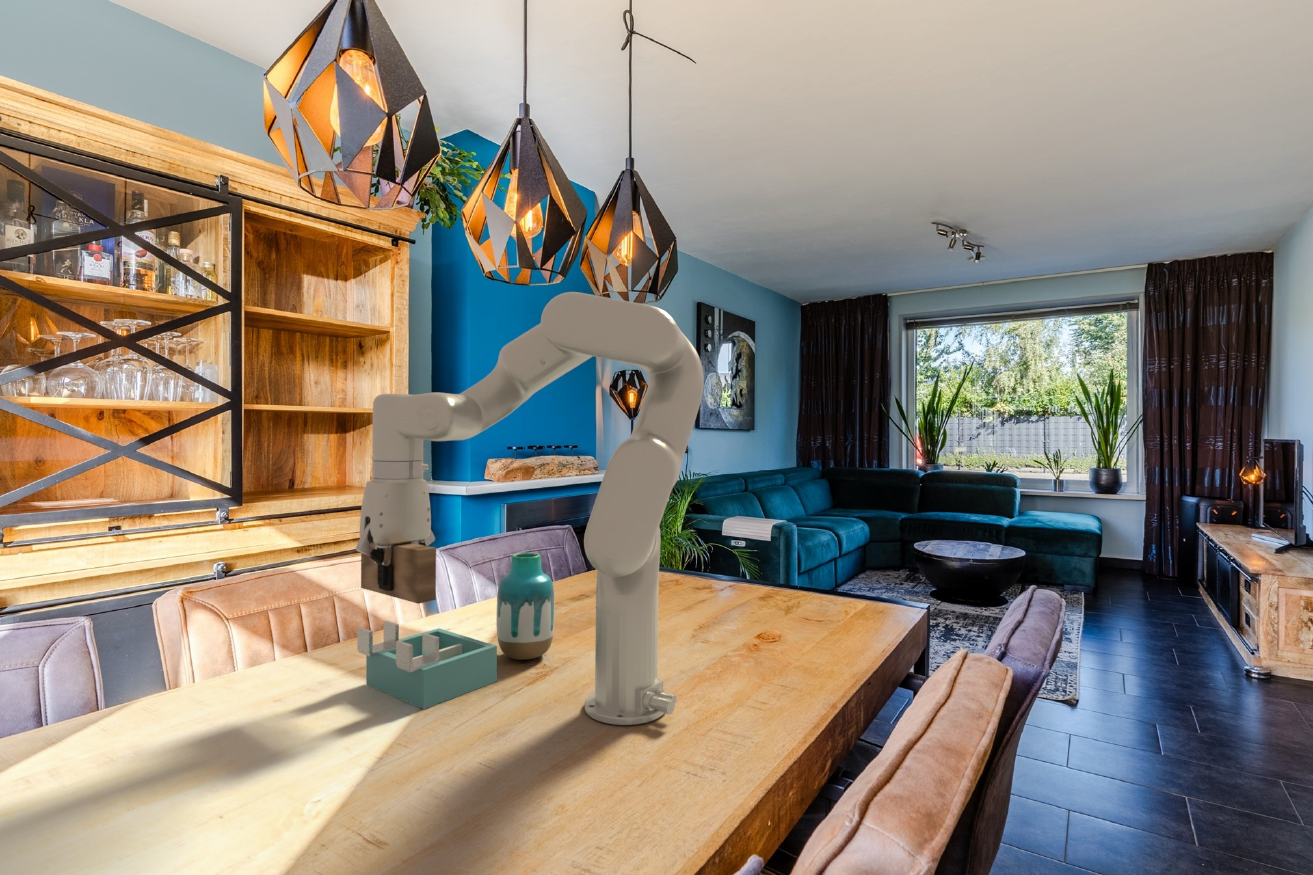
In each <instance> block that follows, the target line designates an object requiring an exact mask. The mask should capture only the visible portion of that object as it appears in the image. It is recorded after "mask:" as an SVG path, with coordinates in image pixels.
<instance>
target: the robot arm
mask: <svg viewBox="0 0 1313 875" xmlns="http://www.w3.org/2000/svg"><path fill="white" fill-rule="evenodd" d="M540 316H541V318H540V323H539V324H536V325H535V326H533V327H532V328H530V329H529V330H528V331H525V332H524V333H522V334H521V335H519V336H518V337H516V338H514V339H513V340H511V341H510V342H508V343H506V344H505V345H504V346H502V348H501V350H500V351H499V354H498V360H497V362H496V364H495V367H494V368H493V369H492V371H490V373H488V374H487V375H486V376H485V377H484V378H483V379H481V380H479V381H478V382H476V383H475V384H473V385H472V386H470V387H468V388H467V389H466V390H464V391H462V392H460V393H449V392H447V393H446V392H438V391H437V392H436V391H435V392H428V393H427V392H425V393H421V394H420V393H419V394H418V393H417V394H408V393H407V394H406V393H382V394H378V395H376V396H375V398H374V399H373V401H372V448H371V449H372V462H371V464H372V466H371V468H372V470H371V471H372V472H371V473H372V476H371V480H367V481H366V483H365V488H364V491H363V497H362V502H361V510H360V521H359V541H358V542H357V544H356V547H355V550H356V551H357V552H359V553H363V554H366V555H368V556H369V557H370V558H371V559H372V560H374V562H375V563H376V564H378V578H377V581H378V585H379V588H380V589H383V590H386V591H392V590H393V589H394V567H393V565H390V563H391V554H392V545H396V544H403V543H413V544H418V545H424V546H430V545H431V544H432V543H434V542H435V541H436V537H435V534H434V532H433V531H432V529H431V528H432V527H431V526H432V514H431V501H430V492H429V488H428V484H427V479H424V472H428V471H429V469H430V467H429V464H428V463H424V441H431V442H447V441H465V440H467V439H471V438H473V437H475V436H477V435H479V434H480V433H482V432H483V431H486V430H487V429H489V428H490V427H492V426H494V425H495V424H497V423H498V422H500V421H502V420H504V419H505V418H506V417H509V415H510V414H512V413H513V412H514V411H515V410H517V409H518V408H519V407H520V406H521V405H522V404H524V403H526V402H527V401H528V400H529V399H530V398H531V397H532V396H533V395H534V394H535V393H537V392H539V390H541V389H543V388H545V387H547V385H550V384H551V383H552V382H554V381H556V380H558V379H559V378H560V377H562V376H564V375H565V374H566V373H569V372H570V371H571V370H573V369H575V368H577V367H578V366H580V365H581V364H583V363H585V362H586V361H588V360H589V359H592V357H595V358H599V359H605V360H609V361H615V362H621V363H625V364H628V365H629V364H630V365H634V366H637V367H639V368H640V369H642V370H644V371H645V372H646V374H647V376H648V385H647V389H646V391H645V394H644V397H643V400H642V401H641V403H640V404H641V405H640V409H639V412H638V415H637V419H636V420H635V424H634V425H633V429H632V432H631V434H630V437H629V438H627V439H625V440H623V441H622V442H621V443H620V444H619V445H618V446H617V447H616V448H615V449H614V451H613V453H612V455H611V457H610V458H609V461H608V463H607V466H606V469H605V471H604V474H603V477H602V479H601V480H602V481H601V483H600V486H599V490H598V492H597V494H596V497H595V500H594V501H595V502H594V504H593V508H592V510H591V513H590V516H589V519H588V522H587V524H586V529H585V532H584V536H583V537H584V538H583V546H584V552H585V556H586V558H587V559H588V562H589V564H591V566H592V568H594V569H595V570H596V584H595V585H596V587H595V589H596V590H595V638H594V639H595V650H594V651H595V652H594V655H595V656H594V658H595V659H594V661H595V662H594V663H595V664H594V665H595V667H594V668H595V669H594V670H595V671H594V676H595V677H594V691H592V692H591V693H590V694H588V695H587V697H586V698H585V700H584V710H585V713H586V714H587V715H588V716H589V717H590V718H592V719H594V720H596V721H598V722H600V723H601V722H602V723H605V724H609V725H614V726H615V725H616V726H617V725H618V726H632V725H633V726H634V725H641V724H646V723H650V722H653V721H655V720H657V719H659V718H660V717H662V716H664V715H665V714H666V715H672V714H673V712H674V711H675V707H676V706H675V704H676V702H677V701H678V700H677V699H678V697H677V695H676V694H674V693H673V694H672V693H670V692H665V690H664V680H663V679H660V678H658V667H659V666H658V660H659V659H658V658H659V657H658V655H659V654H658V650H659V649H658V648H659V646H658V644H659V643H658V642H659V641H658V640H659V639H658V637H659V635H658V634H659V632H658V631H659V629H658V628H659V583H660V582H659V578H660V560H661V559H660V558H661V544H662V541H661V539H662V538H661V528H660V525H661V522H662V519H663V515H664V513H665V510H666V507H667V505H668V502H669V499H670V496H671V493H672V490H673V488H674V487H675V485H676V483H677V481H678V480H679V477H680V474H681V469H682V463H683V459H684V456H685V453H686V450H687V448H688V444H689V441H690V438H691V436H692V432H693V429H694V425H695V421H696V419H697V415H698V413H699V410H700V407H701V403H702V399H703V394H704V386H705V385H704V384H705V380H704V378H705V377H704V376H705V375H704V369H703V365H702V364H703V363H702V361H701V359H700V358H701V357H700V356H699V354H698V352H697V350H696V348H695V347H694V346H693V343H692V342H690V340H689V339H688V337H686V335H685V334H684V333H683V331H681V329H680V327H679V326H678V325H677V322H676V321H675V319H674V318H673V316H671V315H670V314H669V313H668V312H667V311H665V310H663V309H661V308H659V307H657V306H654V305H650V304H645V303H640V302H634V301H627V300H623V299H617V298H612V297H611V298H610V297H607V296H600V295H595V294H589V293H584V292H577V291H567V292H562V293H560V294H558V295H556V296H554V297H553V298H551V299H550V301H548V303H546V305H545V307H544V308H543V311H542V313H541V315H540ZM370 543H374V544H375V549H374V548H372V547H371V546H370Z"/></svg>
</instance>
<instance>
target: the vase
mask: <svg viewBox="0 0 1313 875" xmlns="http://www.w3.org/2000/svg"><path fill="white" fill-rule="evenodd" d="M541 556H542V555H541V553H538V552H518V553H514V554H512V555H511V558H510V559H511V560H510V568H509V569H510V570H509V572H508V574H506V575H505V576H504V577H502V578H501V580H500V581H499V583H498V589H497V594H496V595H497V596H496V634H497V635H496V636H497V644H498V646H499V649H500V650H501V652H502V653H503V654H504V655H505V656H506V657H508V658H510V659H514V660H518V661H519V660H520V661H524V660H525V661H526V660H527V661H528V660H534V659H537V658H540V657H542V656H543V655H544V654H546V653H547V652H548V650H549V649H550V648H551V645H552V642H553V639H554V638H553V637H554V631H555V614H556V612H555V610H556V609H555V606H556V604H555V592H554V591H555V590H554V583H553V580H552V578H551V577H550V576H549V575H548V574H546V573H544V571H543V570H542V569H543V567H542V557H541Z"/></svg>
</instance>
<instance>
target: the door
mask: <svg viewBox="0 0 1313 875" xmlns="http://www.w3.org/2000/svg"><path fill="white" fill-rule="evenodd" d="M370 546H371V547H372V548H374V549H375V544H374V543H370ZM360 553H361V552H360ZM390 565H393V567H394V589H393V590H392V591H386V590H383V589H380V588H379V585H378V581H377V578H378V564H376V563H375V562H374V560H372V559H371V558H370V557H369V556H368V555H366V554H363V553H361V554H360V589H365V590H368V591H372V592H374V593H378V594H382V595H385V596H389V597H392V598H397V599H399V600H404V601H407V602H411V603H414V604H419V605H420V604H423V603H427V602H431V601H436V600H437V591H436V590H437V576H436V575H437V547H434V546H430V545H428V546H424V545H418V544H413V543H403V544H396V545H392V554H391V563H390Z"/></svg>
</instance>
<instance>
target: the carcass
mask: <svg viewBox="0 0 1313 875" xmlns="http://www.w3.org/2000/svg"><path fill="white" fill-rule="evenodd" d="M424 633H427V634H430V635H433V636H436V637H439V660H438V663H437V664H434V665H431V666H428V667H425V668H422V669H419V670H416V671H413V672H408V671H406V670H403V669H400V668H398V667H397V665H396V649H395V650H392V651H388V652H385V653H382V654H378V655H375V656H371V657H370V656H367V655H365V656H366V661H365V663H366V666H365V667H366V668H365V669H366V670H365V671H366V672H365V673H366V676H365V678H366V681H365V682H366V683H365V684H366V686H370V687H371V688H374V689H377V690H378V691H380V692H382V693H386V694H388V695H390V696H392V697H395V698H396V699H399V700H401V701H403V702H406V703H408V704H410V705H413V706H414V707H418V708H419V709H422V710H426V709H428V708H432V707H435V706H436V705H439V704H442V703H444V702H446V701H449V700H451V699H454V698H457V697H460V696H462V695H465V694H467V693H470V692H473V691H476V690H478V689H481V688H483V687H485V686H488V685H490V684H493V683H497V681H498V680H497V679H498V676H497V675H498V664H497V663H498V662H497V661H498V646H497V645H495V644H492V643H489V642H486V641H483V640H479V639H475V638H473V637H469V636H465V635H463V634H459V633H456V632H452V631H450V630H447V629H443V628H440V627H439V628H435V629H432V630H428V631H424V632H420V633H417V634H414V635H409V636H407V637H403V638H399V640H400V641H403V642H405V643H408V644H411V645H413V659H415V658H418V657H421V656H422V634H424Z"/></svg>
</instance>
